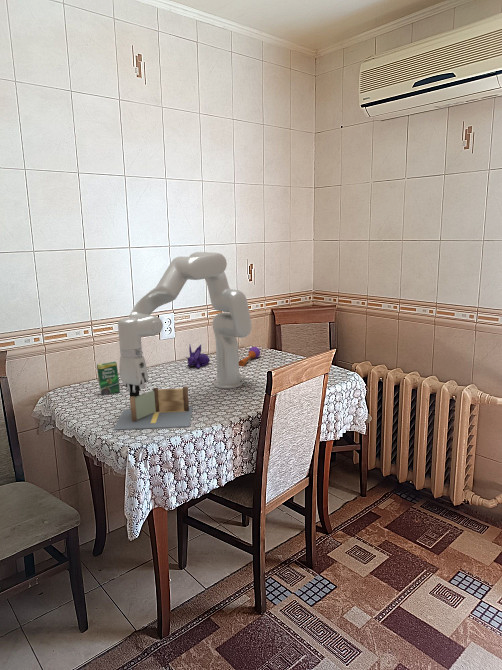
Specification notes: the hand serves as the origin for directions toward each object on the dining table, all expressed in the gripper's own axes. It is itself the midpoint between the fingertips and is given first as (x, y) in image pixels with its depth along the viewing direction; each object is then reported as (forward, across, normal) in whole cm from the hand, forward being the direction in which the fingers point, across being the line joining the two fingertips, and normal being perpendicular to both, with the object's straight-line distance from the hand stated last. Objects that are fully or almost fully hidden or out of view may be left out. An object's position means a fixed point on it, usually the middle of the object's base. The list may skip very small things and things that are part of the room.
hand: (135, 401), depth 179 cm
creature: (+7, +24, -64) cm, 68 cm away
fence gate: (+5, -3, -1) cm, 6 cm away
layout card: (+6, -6, -3) cm, 9 cm away
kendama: (+7, +6, -84) cm, 84 cm away
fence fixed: (+6, -7, -11) cm, 15 cm away
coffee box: (+6, +30, -14) cm, 34 cm away
